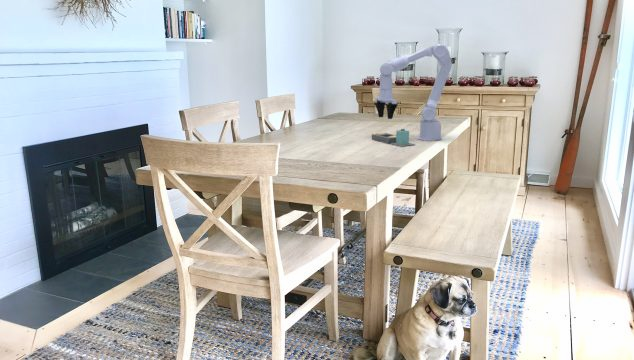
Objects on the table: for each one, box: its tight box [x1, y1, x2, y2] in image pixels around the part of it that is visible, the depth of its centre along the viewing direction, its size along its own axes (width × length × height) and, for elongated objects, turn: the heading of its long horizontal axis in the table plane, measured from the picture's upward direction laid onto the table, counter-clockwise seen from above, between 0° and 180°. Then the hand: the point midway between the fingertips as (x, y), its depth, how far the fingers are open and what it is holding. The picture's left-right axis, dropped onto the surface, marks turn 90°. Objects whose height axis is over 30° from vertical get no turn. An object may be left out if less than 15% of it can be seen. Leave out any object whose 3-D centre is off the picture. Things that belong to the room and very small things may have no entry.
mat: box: [389, 142, 416, 148], centre depth 236 cm, size 8×8×1 cm
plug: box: [395, 128, 410, 145], centre depth 235 cm, size 4×4×7 cm
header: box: [371, 132, 396, 145], centre depth 246 cm, size 8×14×3 cm, turn 28°
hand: (385, 118), depth 250 cm, fingers open, 7 cm apart
